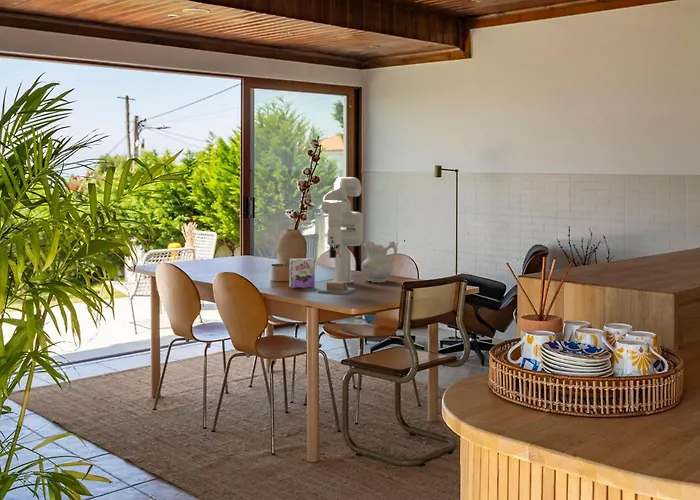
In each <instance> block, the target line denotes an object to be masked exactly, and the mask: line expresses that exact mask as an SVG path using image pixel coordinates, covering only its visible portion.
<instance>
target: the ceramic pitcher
mask: <svg viewBox="0 0 700 500" xmlns="http://www.w3.org/2000/svg"><path fill="white" fill-rule="evenodd" d="M388 243H389V244H388V246H383V245H382V244H375V242H374V241H373V242H372V241H365V242H364V243H362V244H363V245H362V246H363V247H364V248H365V249H366V250H367V255H368V256H367V258H366V259H364V260H363V261H362V263H361V271H362V274H363V275H364V276H365V277H366V278H368V280H367V282H369V281H371V282H370V283H375V282H377V283H386V282H385V281H387V280H386V279H387V278H389V277H390V276H391V275H392V272H393V271H394V261H395V260H396V258H397V255H398V247H397V245H396V243H395V241H388ZM392 248H393V254H392V255H391V260H390V259H389V258H388V251H389V249H392Z"/></svg>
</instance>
